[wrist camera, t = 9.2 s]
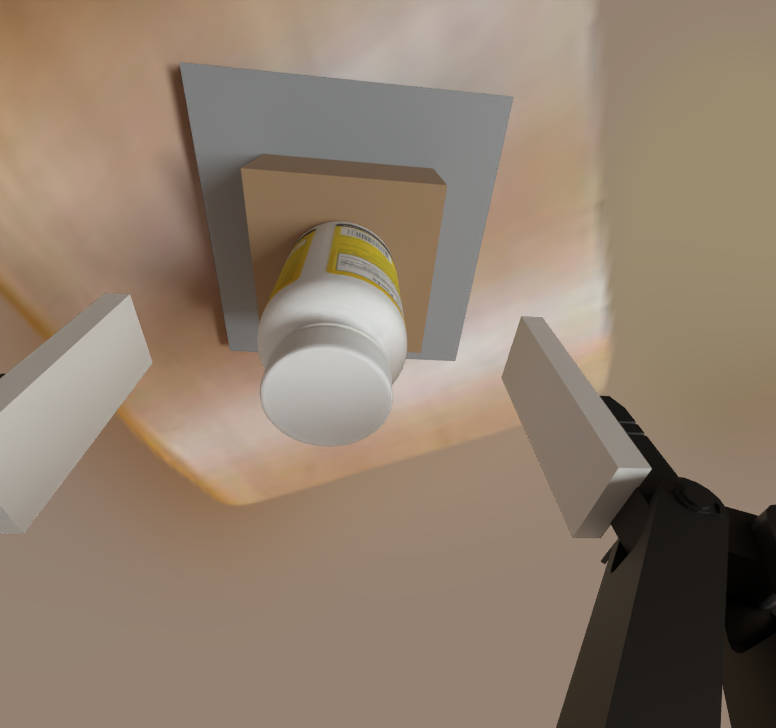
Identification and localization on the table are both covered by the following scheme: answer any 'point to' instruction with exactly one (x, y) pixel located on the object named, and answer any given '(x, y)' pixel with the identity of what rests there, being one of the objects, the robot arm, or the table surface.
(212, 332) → the table surface
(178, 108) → the table surface
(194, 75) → the base
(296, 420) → the supplement bottle
